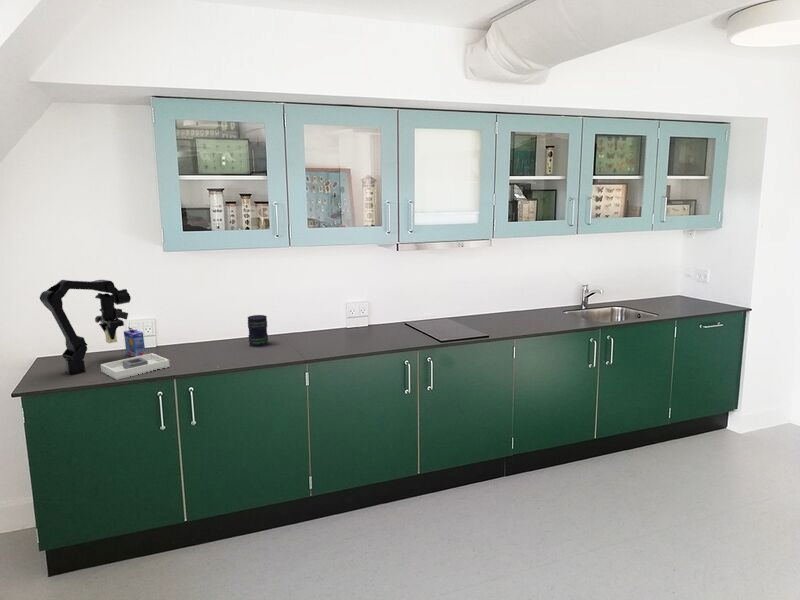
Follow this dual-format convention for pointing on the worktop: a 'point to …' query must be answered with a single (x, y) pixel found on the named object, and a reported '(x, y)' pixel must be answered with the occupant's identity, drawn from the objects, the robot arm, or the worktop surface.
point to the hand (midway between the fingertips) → (111, 338)
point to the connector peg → (108, 338)
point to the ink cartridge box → (134, 343)
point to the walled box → (134, 366)
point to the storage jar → (257, 331)
